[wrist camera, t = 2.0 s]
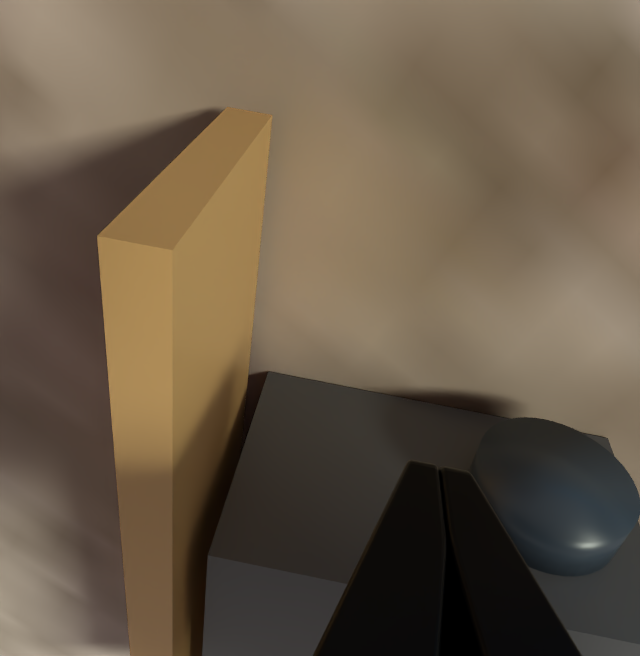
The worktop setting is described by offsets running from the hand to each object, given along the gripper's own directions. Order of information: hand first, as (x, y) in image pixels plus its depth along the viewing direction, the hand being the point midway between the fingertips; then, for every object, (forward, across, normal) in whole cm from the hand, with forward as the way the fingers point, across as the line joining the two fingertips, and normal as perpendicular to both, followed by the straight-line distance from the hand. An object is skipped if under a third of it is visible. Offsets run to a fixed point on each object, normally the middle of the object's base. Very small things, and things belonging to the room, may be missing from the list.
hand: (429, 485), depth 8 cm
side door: (+5, +4, +6) cm, 9 cm away
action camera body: (+5, -1, +9) cm, 10 cm away
